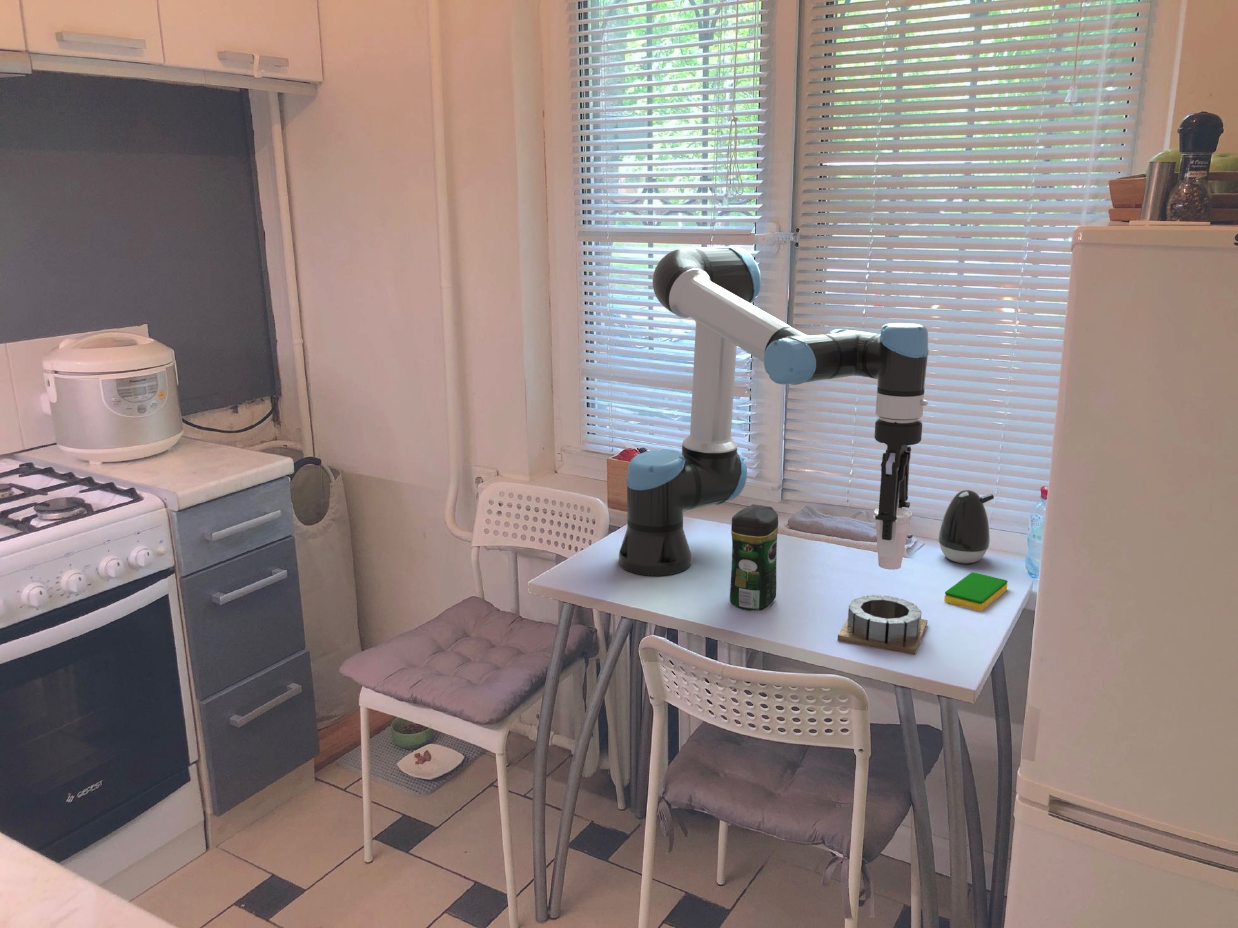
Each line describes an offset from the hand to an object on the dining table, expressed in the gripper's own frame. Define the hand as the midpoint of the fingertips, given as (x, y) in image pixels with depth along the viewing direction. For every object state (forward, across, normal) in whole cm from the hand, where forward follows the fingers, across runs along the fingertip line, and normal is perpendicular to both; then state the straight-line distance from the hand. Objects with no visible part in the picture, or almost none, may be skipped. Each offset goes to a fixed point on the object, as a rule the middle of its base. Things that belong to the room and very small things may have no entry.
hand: (890, 549), depth 165 cm
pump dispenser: (+16, +44, -8) cm, 47 cm away
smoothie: (+3, 0, 0) cm, 3 cm away
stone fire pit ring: (+16, 0, 0) cm, 16 cm away
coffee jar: (+16, +3, +25) cm, 30 cm away
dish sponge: (+16, +25, -12) cm, 32 cm away
